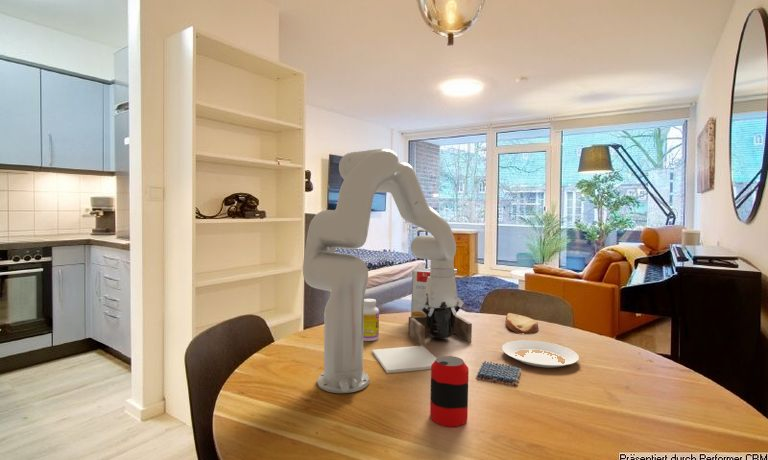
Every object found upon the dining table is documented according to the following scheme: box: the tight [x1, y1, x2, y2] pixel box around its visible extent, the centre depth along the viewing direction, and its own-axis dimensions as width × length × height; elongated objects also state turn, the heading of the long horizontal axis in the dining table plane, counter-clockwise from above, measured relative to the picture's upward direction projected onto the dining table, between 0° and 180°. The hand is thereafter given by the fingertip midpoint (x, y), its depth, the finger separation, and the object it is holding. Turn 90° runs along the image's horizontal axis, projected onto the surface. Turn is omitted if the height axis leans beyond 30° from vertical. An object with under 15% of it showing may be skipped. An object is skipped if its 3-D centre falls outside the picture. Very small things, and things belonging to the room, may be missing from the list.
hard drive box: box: [410, 268, 456, 317], centre depth 154 cm, size 16×8×20 cm, turn 73°
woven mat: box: [475, 360, 522, 387], centre depth 106 cm, size 10×11×2 cm
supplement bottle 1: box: [363, 298, 380, 342], centre depth 134 cm, size 7×7×13 cm
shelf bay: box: [408, 314, 473, 347], centre depth 136 cm, size 12×17×6 cm
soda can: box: [429, 355, 470, 428], centre depth 84 cm, size 8×8×12 cm
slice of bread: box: [505, 312, 539, 334], centre depth 153 cm, size 18×18×4 cm
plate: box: [501, 339, 580, 369], centre depth 119 cm, size 21×21×2 cm
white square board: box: [371, 345, 438, 374], centre depth 116 cm, size 16×16×1 cm
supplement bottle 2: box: [429, 302, 452, 339], centre depth 134 cm, size 7×7×12 cm
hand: (440, 326), depth 135 cm, fingers closed on supplement bottle 2, 6 cm apart
